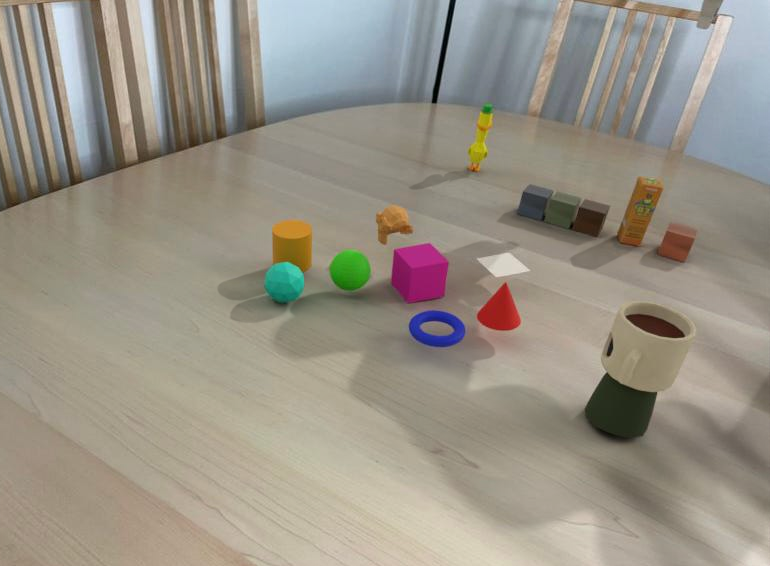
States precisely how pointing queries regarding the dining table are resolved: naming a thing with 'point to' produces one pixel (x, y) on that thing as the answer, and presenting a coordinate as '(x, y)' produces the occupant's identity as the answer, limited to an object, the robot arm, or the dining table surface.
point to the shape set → (409, 275)
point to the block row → (594, 218)
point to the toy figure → (481, 138)
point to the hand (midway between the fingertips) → (705, 23)
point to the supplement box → (640, 210)
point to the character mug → (638, 366)
